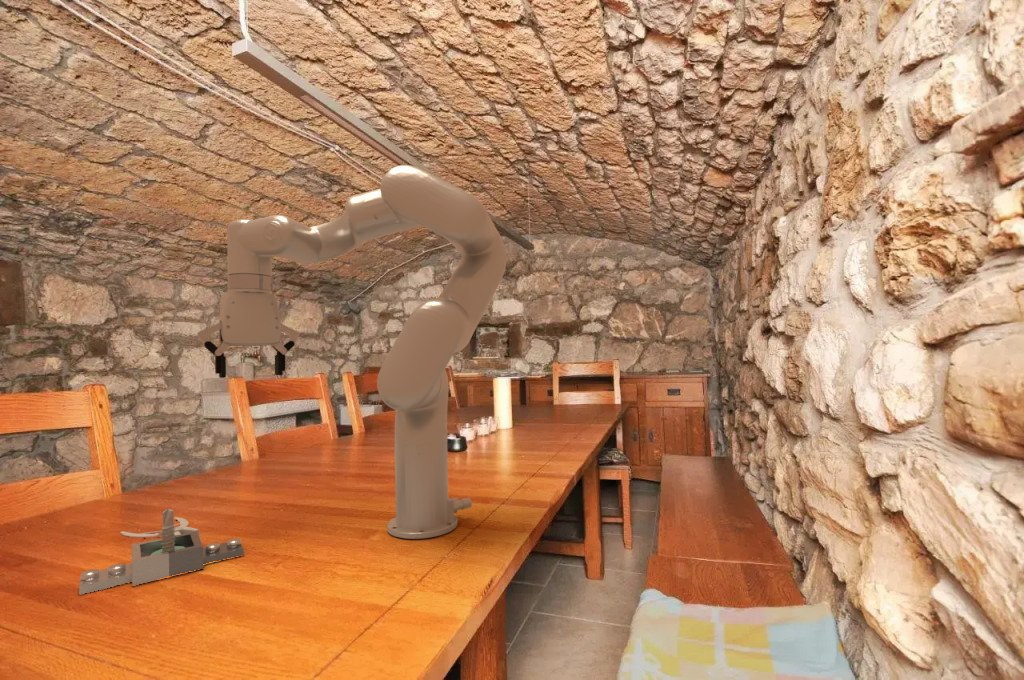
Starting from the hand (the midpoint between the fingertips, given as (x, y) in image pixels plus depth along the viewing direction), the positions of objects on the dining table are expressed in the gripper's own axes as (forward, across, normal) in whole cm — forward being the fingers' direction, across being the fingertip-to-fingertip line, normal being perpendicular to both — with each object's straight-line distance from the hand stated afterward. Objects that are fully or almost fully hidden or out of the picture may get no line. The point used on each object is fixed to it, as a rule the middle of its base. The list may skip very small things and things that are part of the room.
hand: (251, 376), depth 95 cm
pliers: (+29, +13, -8) cm, 33 cm away
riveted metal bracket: (+28, +14, +12) cm, 34 cm away
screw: (+28, +14, +12) cm, 34 cm away
